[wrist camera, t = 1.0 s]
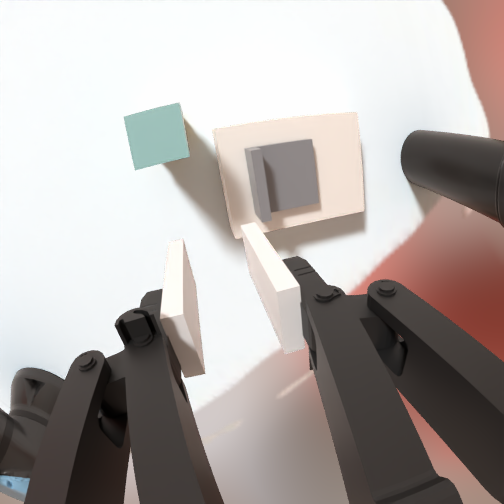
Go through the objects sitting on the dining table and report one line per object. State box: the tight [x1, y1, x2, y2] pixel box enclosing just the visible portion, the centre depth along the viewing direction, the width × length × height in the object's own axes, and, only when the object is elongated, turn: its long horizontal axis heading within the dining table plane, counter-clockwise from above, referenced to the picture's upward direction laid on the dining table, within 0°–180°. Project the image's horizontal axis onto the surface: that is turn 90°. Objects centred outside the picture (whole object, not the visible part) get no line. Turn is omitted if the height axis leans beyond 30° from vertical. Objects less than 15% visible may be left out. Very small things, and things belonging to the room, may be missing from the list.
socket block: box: [212, 112, 364, 239], centre depth 33 cm, size 16×12×4 cm
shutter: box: [244, 139, 319, 223], centre depth 30 cm, size 7×7×3 cm
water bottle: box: [401, 130, 504, 227], centre depth 28 cm, size 10×10×23 cm
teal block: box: [124, 103, 190, 170], centre depth 25 cm, size 4×4×12 cm
